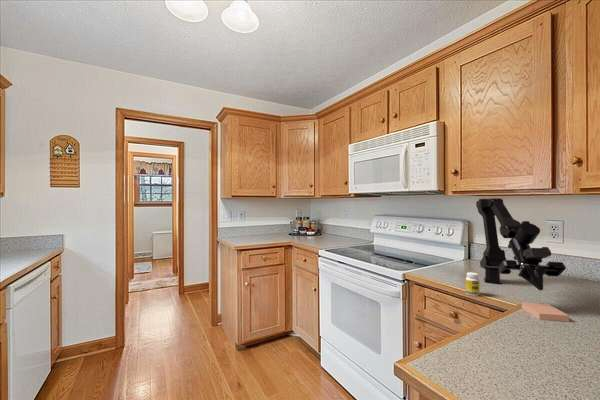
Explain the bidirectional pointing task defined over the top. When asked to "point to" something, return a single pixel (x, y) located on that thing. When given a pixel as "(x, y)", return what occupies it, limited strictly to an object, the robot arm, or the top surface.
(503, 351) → the top surface
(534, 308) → the tile
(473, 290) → the supplement bottle
